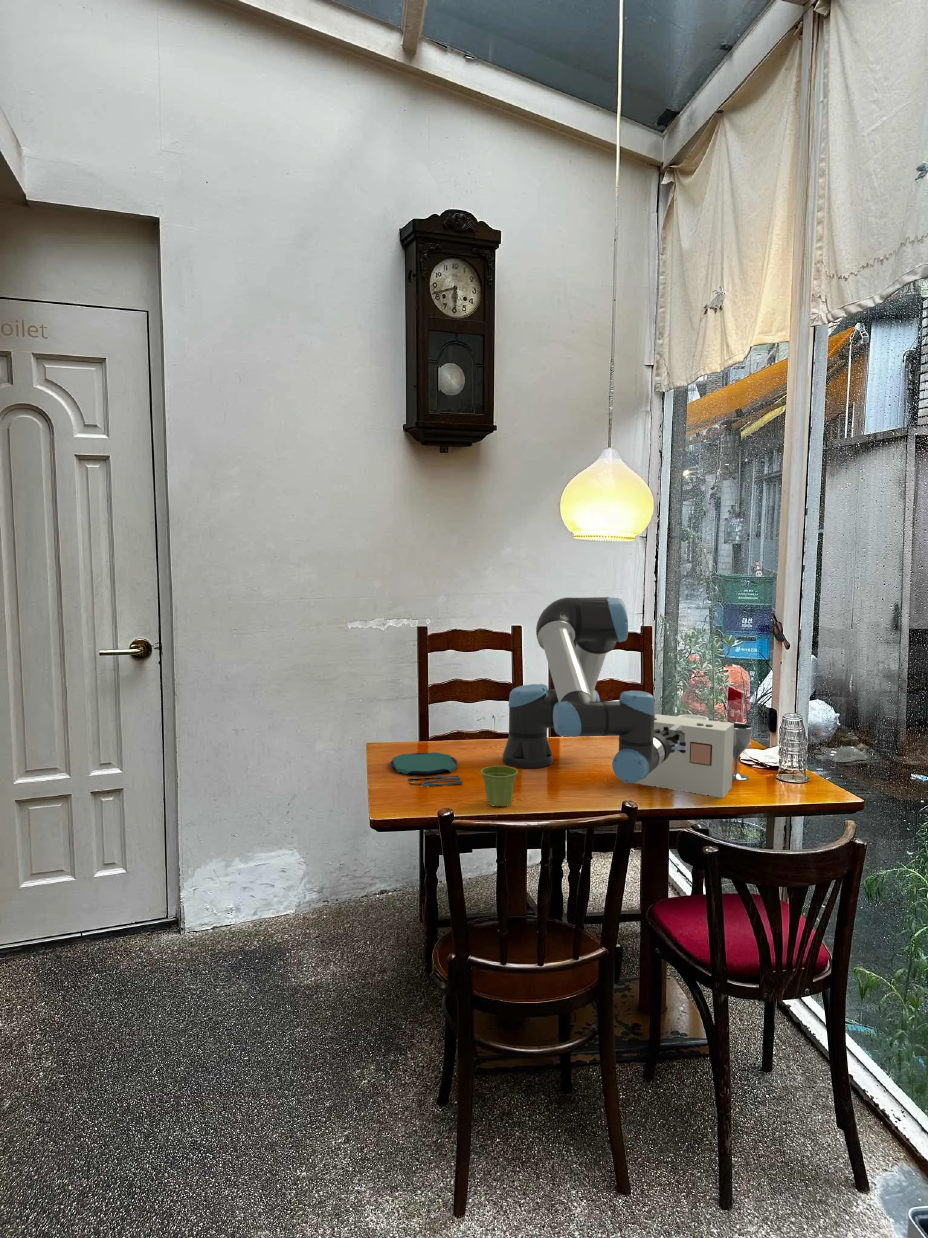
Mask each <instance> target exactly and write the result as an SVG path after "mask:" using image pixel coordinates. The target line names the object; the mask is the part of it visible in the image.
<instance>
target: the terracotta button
mask: <svg viewBox="0 0 928 1238" xmlns="http://www.w3.org/2000/svg"><path fill="white" fill-rule="evenodd" d="M691 762H694V763H701V764H707V765H710V764H711V763H712V744H704V743H697V742H693V743H691Z"/></svg>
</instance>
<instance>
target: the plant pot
mask: <svg viewBox="0 0 928 1238" xmlns="http://www.w3.org/2000/svg"><path fill="white" fill-rule="evenodd" d="M518 773H519V771H518V769H516V767H513V766H508V765H492V766H491V765H490V766H487V767H486V766H485V767H483V768H481V770H480V774H482V778H483V781H484V788H485V794H486V801H487V802H486V803H487V805H488V804H491V805H494V806H496V807H499V806H507V805H509V804H511V805H512V802H513V801H512V800H513V793H514V786H515V780H516V778H517V777H516V776H517V775H518ZM509 806H510V805H509ZM507 807H508V806H507Z"/></svg>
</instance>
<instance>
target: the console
mask: <svg viewBox="0 0 928 1238" xmlns="http://www.w3.org/2000/svg"><path fill="white" fill-rule="evenodd" d="M676 724H681V725H682V732H683V733H685V742H686V753H681V752H680V751H677V750H675V751H674V752H673V753H670V754H669V756H668V758H667V759H666V760H665V761H664V762H663V763H661V764H660V765H659V766H657V767H656V768H655V769H654V770H653V771H651V772H650V773H649V774H648V775H647V776H646V777H645V778H644V779H642V780H640V781H638V782H635V783H634V784H637V785H643V786H649V787H654V786H656V788H660V787H661V789H665V788H669V789H668V790H671V789H675V790H674V791H677V790H680V791H679V792H683V791H687V792H686V793H689V792H692V793H691V794H695V793H696V794H697V795H701V794H702V796H707V795H709V796H708V797H712V798H718V799H723V798H724V797H725V796H726V795H727V794H728V793H729V792H730V791H731V790H732V789H733V788H732V785H733V780H732V773H733V765H734V764H733V763H734V758H733V737H734V723H728V722H726V721H725V722H724V721H717V720H716V721H715V720H701V719H693V718H684V717H677V716H674V715H665V714H660V713H659V714H658V713H655V719H654V730H656V729H660V731H663V729H664V727H668V729H670V728H671V727H673V726H674V725H676ZM678 741H679V740H678ZM693 742H697V743H704V744H712V763H711V764H710V765H707V764H701V763H694V762H691V743H693ZM675 745H676V744H675Z"/></svg>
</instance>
